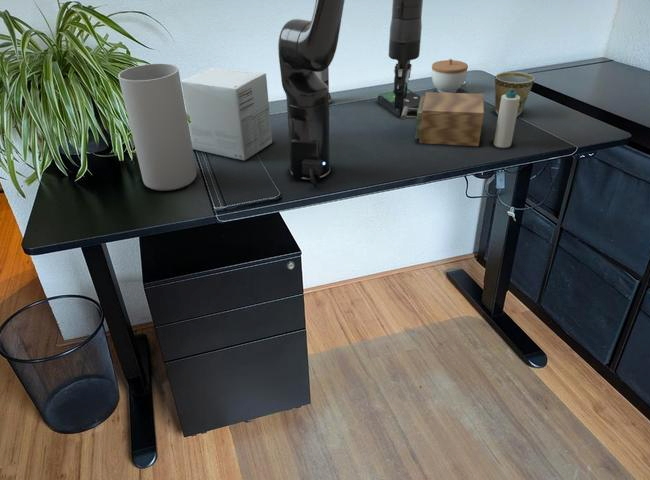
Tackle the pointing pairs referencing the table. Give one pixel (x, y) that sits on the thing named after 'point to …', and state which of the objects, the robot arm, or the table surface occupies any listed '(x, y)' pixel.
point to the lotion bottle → (506, 119)
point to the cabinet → (452, 118)
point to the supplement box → (228, 112)
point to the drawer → (418, 117)
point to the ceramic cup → (512, 87)
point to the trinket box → (448, 75)
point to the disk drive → (410, 101)
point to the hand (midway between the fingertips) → (400, 103)
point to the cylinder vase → (159, 125)
